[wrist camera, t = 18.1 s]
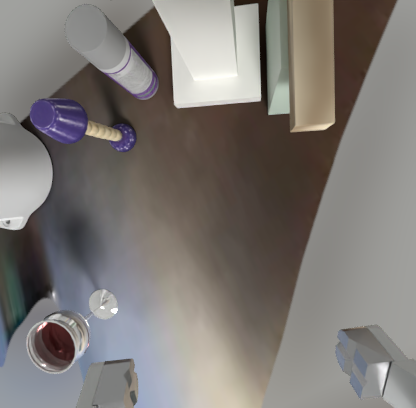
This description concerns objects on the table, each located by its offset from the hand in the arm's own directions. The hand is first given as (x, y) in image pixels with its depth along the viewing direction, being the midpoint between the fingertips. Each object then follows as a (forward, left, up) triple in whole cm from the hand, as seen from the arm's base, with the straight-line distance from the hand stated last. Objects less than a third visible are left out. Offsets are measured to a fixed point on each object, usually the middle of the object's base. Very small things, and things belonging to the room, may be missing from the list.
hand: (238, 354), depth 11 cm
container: (-14, +22, -31) cm, 40 cm away
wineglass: (-23, -12, -31) cm, 40 cm away
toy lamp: (-18, +14, -31) cm, 38 cm away
